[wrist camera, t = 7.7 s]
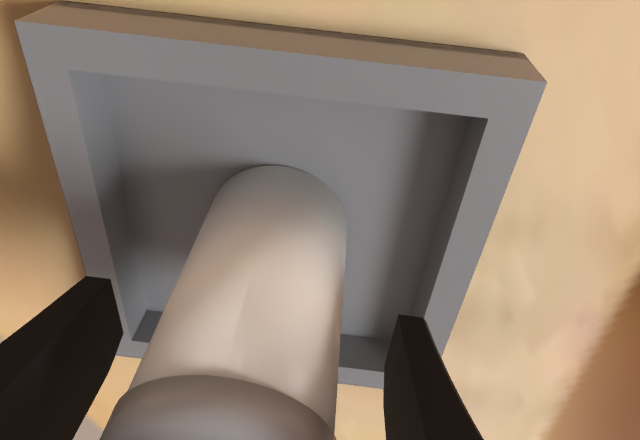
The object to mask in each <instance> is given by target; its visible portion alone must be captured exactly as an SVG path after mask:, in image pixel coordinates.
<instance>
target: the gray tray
mask: <svg viewBox="0 0 640 440" xmlns="http://www.w3.org/2000/svg"><path fill="white" fill-rule="evenodd" d="M14 22H15V26H16V29H17V33H18V37H19V40H20V44H21V47H22V51H23V54H24V58H25V61H26V65H27V68H28V72H29V75H30V79H31V82H32V86H33V89H34V93H35V96H36V100H37V103H38V107H39V110H40V114H41V117H42V121H43V124H44V128H45V132H46V135H47V139H48V142H49V146H50V149H51V153H52V156H53V160H54V163H55V167H56V170H57V174H58V177H59V181H60V184H61V188H62V191H63V195H64V198H65V202H66V205H67V209H68V212H69V216H70V219H71V223H72V226H73V230H74V234H75V237H76V241H77V244H78V248H79V251H80V255H81V258H82V262H83V265H84V269H85V272H86V276H91V277H99V278H107V279H111V283H112V287H113V291H114V295H115V299H116V303H117V308H118V312H119V316H120V320H121V324H122V328H123V332H124V334H123V336H122V339H121V342H120V344H119V347H118V350H117V352H116V356H124V357H132V358H140V359H142V358H143V356H144V354H145V351H146V349H147V347H148V345H149V343H150V340H151V338H152V336H153V334H154V331H155V329H156V327H157V325H158V323H159V320H160V318H161V316H162V314H163V311H164V309H165V307H166V305H167V303H168V300H169V298H170V296H171V294H172V291H173V289H174V287H175V285H176V282H177V280H178V278H179V276H180V274H181V271H182V269H183V267H184V265H185V262H186V260H187V258H188V256H189V254H190V251H191V249H192V247H193V245H194V242H195V240H196V238H197V236H198V234H199V231H200V229H201V227H202V225H203V222H204V220H205V218H206V216H207V214H208V211H209V209H210V207H211V205H212V202H213V200H214V198H215V196H216V194H217V192H218V191H219V189H220V188H221V186H222V185H223V184H224V183H225V182H226V181H227V180H228V179H230V178H231V177H233V176H234V175H236V174H237V173H240V172H242V171H244V170H247V169H250V168H254V167H259V166H272V165H273V166H284V167H290V168H294V169H297V170H301V171H303V172H305V173H308V174H310V175H312V176H314V177H316V178H317V179H319V180H320V181H322V182H323V183H324V184H326V185H327V186H328V187H329V188H330V189H331V190H332V191H333V192H334V193H335V195H336V196H337V197H338V199H339V200H340V202H341V203H342V206H343V208H344V210H345V213H346V217H347V240H346V256H345V272H344V288H343V303H342V319H341V335H340V351H339V366H338V382H337V383H339V384H347V385H355V386H363V387H371V388H379V389H384V365H385V361H386V358H387V354H388V350H389V347H390V343H391V339H392V336H393V332H394V328H395V325H396V321H397V317H398V314H399V315H408V316H416V317H423V318H424V319H425V320H426V322H427V325H428V327H429V330H430V333H431V335H432V338H433V340H434V343H435V345H436V347H437V350H438V352H439V354H440V356H441V357H442V354H443V352H444V349H445V346H446V344H447V341H448V339H449V336H450V333H451V331H452V328H453V326H454V323H455V320H456V318H457V315H458V313H459V310H460V307H461V305H462V302H463V300H464V297H465V294H466V292H467V289H468V287H469V284H470V281H471V279H472V276H473V274H474V271H475V268H476V266H477V263H478V261H479V258H480V255H481V253H482V250H483V248H484V245H485V242H486V240H487V237H488V235H489V232H490V229H491V227H492V224H493V221H494V219H495V216H496V214H497V211H498V208H499V206H500V203H501V201H502V198H503V195H504V193H505V190H506V188H507V185H508V182H509V180H510V177H511V175H512V172H513V169H514V167H515V164H516V162H517V159H518V156H519V154H520V151H521V149H522V146H523V143H524V141H525V138H526V136H527V133H528V130H529V128H530V125H531V123H532V120H533V117H534V115H535V112H536V110H537V107H538V104H539V102H540V99H541V97H542V94H543V91H544V89H545V86H546V84H547V82H546V80H545V79H544V78H543V77H542V75H541V74H540V73H539V72H538V71H537V69H536V68H535V67H534V66H533V64H532V63H531V62H530V61H529V59H528V58H527V57H526V56H525V55H524V54H522V53H514V52H505V51H496V50H488V49H479V48H470V47H461V46H453V45H444V44H435V43H426V42H418V41H409V40H400V39H392V38H383V37H374V36H365V35H357V34H348V33H339V32H331V31H322V30H313V29H304V28H296V27H287V26H278V25H270V24H261V23H252V22H243V21H235V20H226V19H217V18H209V17H200V16H191V15H182V14H174V13H165V12H156V11H148V10H139V9H130V8H121V7H113V6H104V5H95V4H87V3H78V2H69V1H58V2H55V3H53V4H51V5H49V6H46V7H44V8H42V9H39V10H37V11H35V12H33V13H30V14H28V15H26V16H23V17H21V18H19V19H17V20H14Z"/></svg>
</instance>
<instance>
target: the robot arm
mask: <svg viewBox="0 0 640 440" xmlns="http://www.w3.org/2000/svg"><path fill="white" fill-rule="evenodd" d="M123 334H124V332H123V328H122V324H121V320H120V316H119V312H118V308H117V303H116V299H115V295H114V291H113V287H112V283H111V279H107V278H99V277H91V276H86V277H85V278H83V279H82V280H81V281H80V282H78V283H77V284H76V285H74V286H73V287H72V288H71V289H69V290H68V291H67V292H65V293H64V294H63V295H62V296H60V297H59V298H58V299H57V300H55V301H54V302H53V303H52V304H50V305H49V306H48V307H47V308H45V309H44V310H43V311H42V312H40V313H39V314H38V315H37V316H35V317H34V318H33V319H32V320H30V321H29V322H28V323H26V324H25V325H24V326H22V327H21V328H20V329H19V330H17V331H16V332H15V333H13V334H12V335H11V336H9V337H8V338H7V339H6V340H4V341H3V342H2V343H0V440H72V439H73V438H74V436H75V434H76V432H77V430H78V428H79V426H80V425H81V423H82V421H83V419H84V417H85V415H86V413H87V412H88V410H89V408H90V406H91V404H92V402H93V401H94V399H95V397H96V395H97V393H98V391H99V389H100V387H101V385H102V384H103V382H104V380H105V378H106V376H107V374H108V372H109V370H110V367H111V365H112V362H113V360H114V358H115V355H116V352H117V350H118V347H119V344H120V342H121V339H122V336H123ZM383 406H384V418H385V430H386V440H484V439H483V438H482V436H481V434H480V432H479V431H478V429H477V427H476V425H475V424H474V422H473V420H472V418H471V417H470V415H469V413H468V411H467V409H466V407H465V406H464V404H463V402H462V400H461V398H460V396H459V394H458V392H457V390H456V388H455V386H454V384H453V382H452V380H451V378H450V376H449V374H448V372H447V370H446V368H445V365H444V363H443V361H442V359H441V356H440V354H439V352H438V350H437V347H436V345H435V343H434V340H433V338H432V335H431V333H430V330H429V327H428V325H427V322H426V320H425V319H424V318H423V317H416V316H408V315H399V314H398V317H397V321H396V325H395V328H394V332H393V336H392V339H391V343H390V347H389V350H388V354H387V358H386V361H385V365H384V405H383Z"/></svg>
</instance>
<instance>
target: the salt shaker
mask: <svg viewBox="0 0 640 440" xmlns="http://www.w3.org/2000/svg"><path fill="white" fill-rule="evenodd" d="M346 240H347V217H346V213H345V210H344V208H343V206H342V203H341V202H340V200H339V199H338V197H337V196H336V195H335V193H334V192H333V191H332V190H331V189H330V188H329V187H328V186H327V185H326V184H324V183H323V182H322V181H320V180H319V179H317V178H316V177H314V176H312V175H310V174H308V173H305V172H303V171H301V170H297V169H294V168H290V167H284V166H273V165H272V166H259V167H254V168H250V169H247V170H244V171H242V172H240V173H237V174H236V175H234V176H233V177H231V178H230V179H228V180H227V181H226V182H225V183H224V184H223V185H222V186H221V188H220V189H219V191H218V192H217V194H216V196H215V198H214V200H213V202H212V205H211V207H210V209H209V211H208V214H207V216H206V218H205V220H204V222H203V225H202V227H201V229H200V231H199V234H198V236H197V238H196V240H195V242H194V245H193V247H192V249H191V251H190V254H189V256H188V258H187V260H186V262H185V265H184V267H183V269H182V271H181V274H180V276H179V278H178V280H177V282H176V285H175V287H174V289H173V291H172V294H171V296H170V298H169V300H168V303H167V305H166V307H165V309H164V311H163V314H162V316H161V318H160V320H159V323H158V325H157V327H156V329H155V331H154V334H153V336H152V338H151V340H150V343H149V345H148V347H147V349H146V351H145V354H144V356H143V358H142V360H141V363H140V365H139V367H138V369H137V371H136V374H135V376H134V378H133V380H132V383H131V385H130V387H129V389H128V391H127V392H126V393H125V394H124V395H123V396H122V397H121V398H120V399H119V401H118V402H117V404H116V405H115V407H114V410H113V412H112V414H111V416H110V418H109V420H108V423H107V425H106V427H105V429H104V431H103V434H102V436H101V438H100V440H336V438H335V435H334V429H335V414H336V398H337V382H338V366H339V351H340V335H341V319H342V303H343V288H344V272H345V256H346Z"/></svg>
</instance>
